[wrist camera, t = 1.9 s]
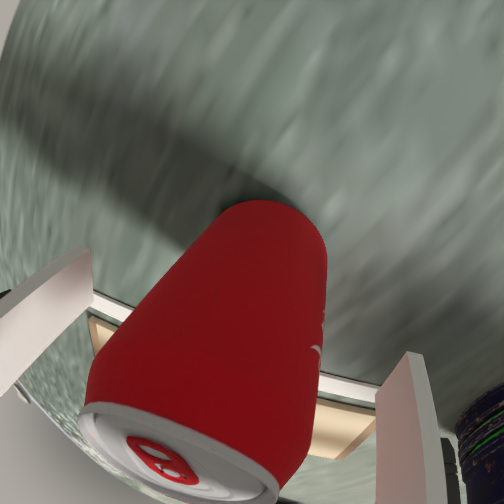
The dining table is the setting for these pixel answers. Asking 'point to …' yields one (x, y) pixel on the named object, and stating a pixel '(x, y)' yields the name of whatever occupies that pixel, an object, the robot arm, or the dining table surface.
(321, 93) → the dining table surface
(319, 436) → the board
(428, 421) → the robot arm
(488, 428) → the dark blue cylinder
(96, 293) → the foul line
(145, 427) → the beverage can
